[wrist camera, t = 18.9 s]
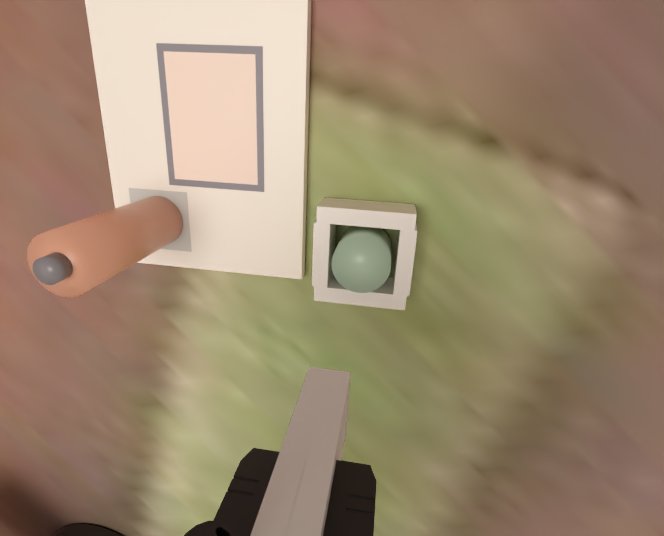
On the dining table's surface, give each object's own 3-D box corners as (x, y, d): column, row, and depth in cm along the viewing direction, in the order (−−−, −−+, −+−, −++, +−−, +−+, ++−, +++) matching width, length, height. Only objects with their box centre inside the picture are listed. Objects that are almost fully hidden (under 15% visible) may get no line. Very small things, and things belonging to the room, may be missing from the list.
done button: (337, 270, 33) (330, 289, 30) (340, 220, 32) (332, 234, 28) (388, 275, 33) (387, 295, 29) (394, 225, 31) (393, 239, 28)
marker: (139, 239, 34) (19, 299, 23) (135, 192, 33) (5, 232, 22) (184, 246, 34) (84, 309, 23) (182, 198, 33) (75, 241, 21)
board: (131, 256, 37) (122, 261, 35) (95, -3, 29) (83, -8, 28) (304, 274, 35) (301, 279, 33) (311, 0, 28) (307, -5, 26)
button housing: (319, 283, 35) (311, 300, 31) (322, 197, 32) (314, 206, 29) (406, 292, 34) (407, 310, 31) (417, 204, 31) (419, 214, 28)
